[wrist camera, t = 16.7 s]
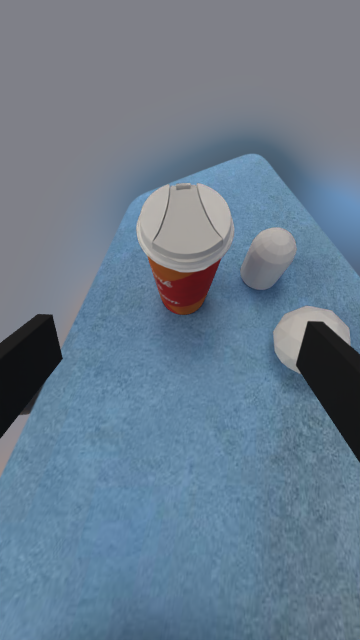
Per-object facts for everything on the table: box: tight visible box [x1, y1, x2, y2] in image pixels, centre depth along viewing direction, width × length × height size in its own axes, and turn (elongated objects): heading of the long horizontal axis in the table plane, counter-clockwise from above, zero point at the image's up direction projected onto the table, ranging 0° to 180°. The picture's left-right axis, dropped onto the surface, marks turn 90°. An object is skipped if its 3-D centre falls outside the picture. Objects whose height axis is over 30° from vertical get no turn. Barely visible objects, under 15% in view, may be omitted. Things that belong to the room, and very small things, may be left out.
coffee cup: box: [136, 183, 234, 315], centre depth 26 cm, size 8×8×15 cm
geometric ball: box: [273, 306, 351, 374], centre depth 28 cm, size 8×8×8 cm
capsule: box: [240, 228, 297, 290], centre depth 31 cm, size 5×5×8 cm
